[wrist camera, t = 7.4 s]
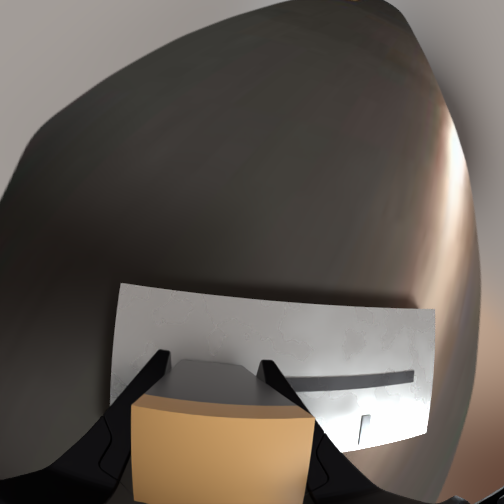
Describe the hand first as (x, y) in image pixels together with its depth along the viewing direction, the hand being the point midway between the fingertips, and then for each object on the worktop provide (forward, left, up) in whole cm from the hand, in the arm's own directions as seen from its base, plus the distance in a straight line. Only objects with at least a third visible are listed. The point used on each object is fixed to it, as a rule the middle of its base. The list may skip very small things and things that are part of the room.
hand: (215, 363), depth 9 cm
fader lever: (-1, 0, -5) cm, 5 cm away
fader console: (0, -5, -7) cm, 8 cm away
